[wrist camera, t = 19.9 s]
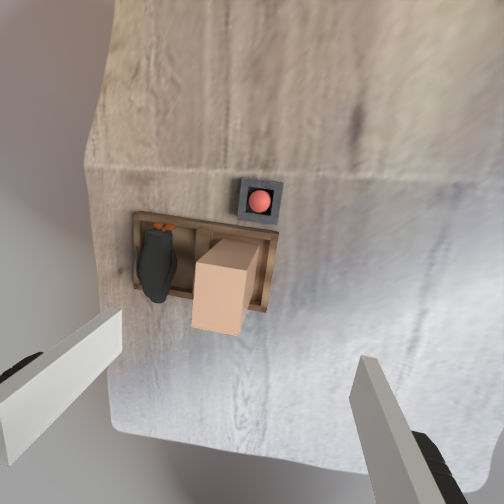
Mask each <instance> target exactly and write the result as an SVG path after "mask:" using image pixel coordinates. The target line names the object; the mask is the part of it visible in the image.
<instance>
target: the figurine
mask: <svg viewBox="0 0 504 504" xmlns="http://www.w3.org/2000/svg"><path fill="white" fill-rule="evenodd" d="M163 227H165V231H164V232H163V231H162V228H163ZM173 229H176V226H175V225H169V224H167V225H165V224H163V223H154V226H153V229H148V230H146V231H145V232H146V239H145V243H144V247H143V250H142V253H141V256H140V258H139V247H138V246H136V250H137V260H136V275H137V277H138V279H139V281H140V282H141V286H142V289H143V292H144V293H145V295H146V296H147V297H148V298H150V299H151V301H152V302H154V303H162V302H164V301H165V300H166V296H167V295H168V294H169V291H170V287H171V283H172V279H173V277H174V275H175V273H176V270H177V256H176V254H175V252H173V243H172V242H173V234H172V230H173Z"/></svg>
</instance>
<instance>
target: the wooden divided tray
mask: <svg viewBox="0 0 504 504" xmlns="http://www.w3.org/2000/svg"><path fill="white" fill-rule="evenodd" d="M154 223H163V224H165V225H167V224H169V225H175V226H176V229H173V230H172V234H173V242H172V243H173V252H175V254H176V256H177V270H176V273H175V275H174V277H173V279H172V283H171V287H170V291H169V294H168V295H171V296H177V297H182V298H188V299H193V298H194V284H195V270H196V262H197V261H198V260H199V259H200V258H201V257H203V256H204V255H205V254H206V253H207V252H208V251H209V250H210V249H212V248H213V247H214V246H215V245H216V244H217V243H218V242H219V241H221V240H222V239H229V240H236V241H242V242H248V243H255V244H259V251H258V259H257V266H256V273H255V280H254V287H253V294H252V297H251V300H250V303H249V306H248V310H254V311H259V312H265V313H266V310H267V305H268V298H269V292H270V286H271V279H272V273H273V267H274V260H275V254H276V248H277V241H278V235H279V232H276V231H270V230H263V229H257V228H250V227H243V226H237V225H230V224H224V223H217V222H211V221H204V220H197V219H191V218H184V217H178V216H171V215H164V214H158V213H151V212H145V211H139V212H134V289H139V290H143V289H142V286H141V282H140V281H139V279H138V277H137V275H136V260H137V250H136V246H138V247H139V258H140V256H141V253H142V250H143V247H144V243H145V239H146V232H145V231H146V230H148V229H153V226H154ZM162 231H163V232H164V231H165V227H163V228H162Z"/></svg>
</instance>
